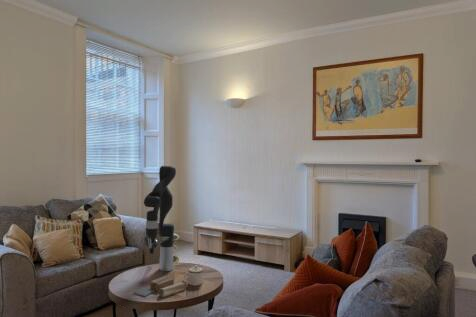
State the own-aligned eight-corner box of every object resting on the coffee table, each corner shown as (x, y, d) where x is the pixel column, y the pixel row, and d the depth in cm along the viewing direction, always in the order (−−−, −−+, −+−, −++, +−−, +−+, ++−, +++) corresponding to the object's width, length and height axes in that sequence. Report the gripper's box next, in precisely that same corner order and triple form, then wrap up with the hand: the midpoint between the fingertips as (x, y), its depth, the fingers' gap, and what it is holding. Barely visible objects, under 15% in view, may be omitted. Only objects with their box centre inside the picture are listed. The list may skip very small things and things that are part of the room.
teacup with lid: (201, 280, 224) (201, 262, 223) (203, 285, 215) (203, 267, 215) (183, 281, 221) (183, 263, 221) (184, 286, 212) (184, 268, 212)
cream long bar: (159, 296, 197) (159, 288, 197) (183, 287, 211) (183, 280, 211) (162, 297, 195) (162, 289, 195) (186, 288, 209) (186, 281, 209)
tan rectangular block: (150, 289, 208) (150, 281, 208) (165, 283, 217) (165, 275, 217) (158, 292, 203) (158, 284, 203) (173, 286, 213) (173, 278, 212)
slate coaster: (133, 293, 200) (133, 292, 200) (144, 288, 208) (144, 287, 208) (145, 296, 196) (145, 295, 196) (155, 291, 204) (155, 290, 204)
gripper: (141, 226, 219) (140, 252, 219) (153, 229, 211) (152, 256, 211) (151, 224, 225) (150, 250, 225) (162, 227, 216) (162, 254, 216)
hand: (151, 253), depth 218 cm, fingers closed
